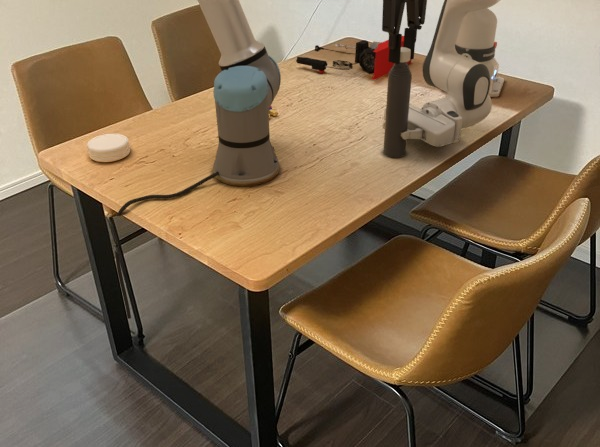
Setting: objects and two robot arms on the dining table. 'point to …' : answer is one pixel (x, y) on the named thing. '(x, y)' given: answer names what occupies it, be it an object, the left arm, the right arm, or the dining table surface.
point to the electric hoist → (359, 58)
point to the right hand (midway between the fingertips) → (393, 130)
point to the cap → (405, 54)
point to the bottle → (397, 109)
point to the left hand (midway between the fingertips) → (401, 59)
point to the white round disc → (108, 147)
